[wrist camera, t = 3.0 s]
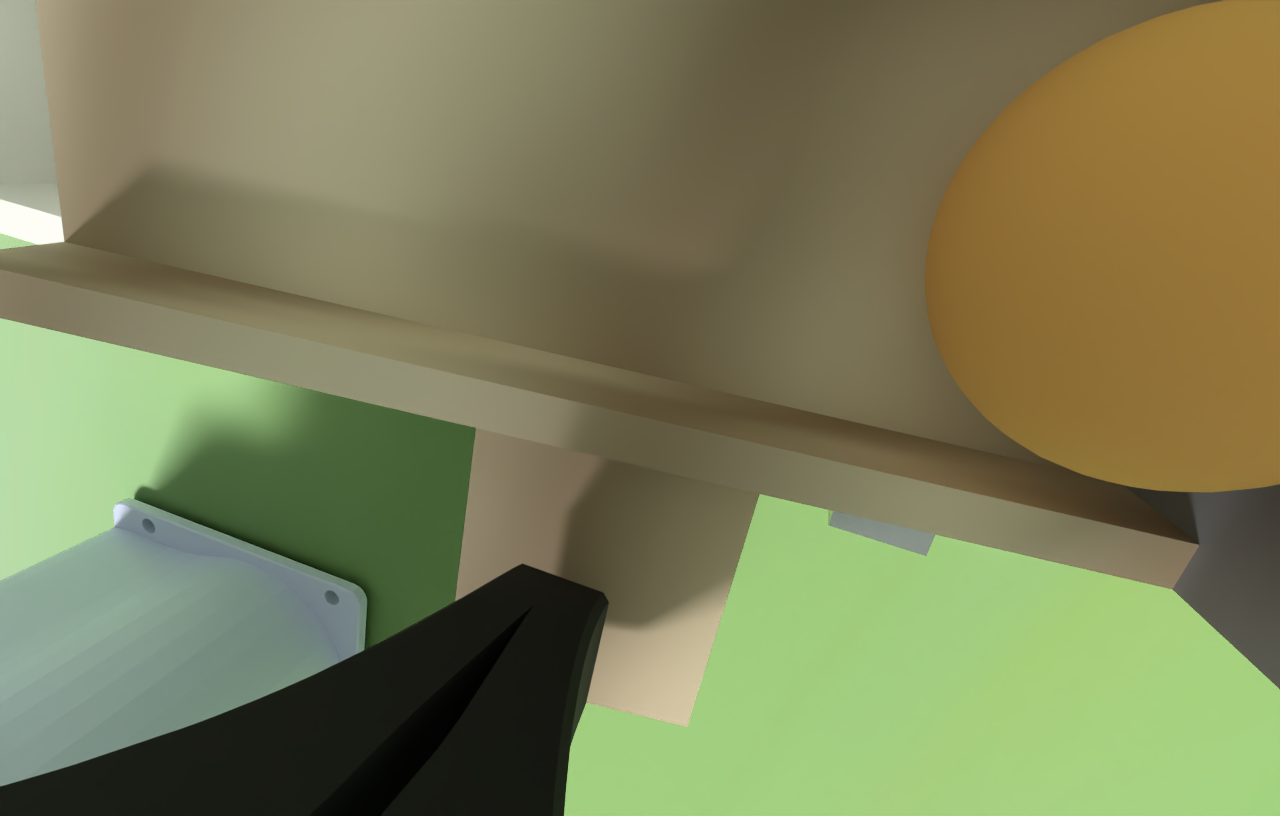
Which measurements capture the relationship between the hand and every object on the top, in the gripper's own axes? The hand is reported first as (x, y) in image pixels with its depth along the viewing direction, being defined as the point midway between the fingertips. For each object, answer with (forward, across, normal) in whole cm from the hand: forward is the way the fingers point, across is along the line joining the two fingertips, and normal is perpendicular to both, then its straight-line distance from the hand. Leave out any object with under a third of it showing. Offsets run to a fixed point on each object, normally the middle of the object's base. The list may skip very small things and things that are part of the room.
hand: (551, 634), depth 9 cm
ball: (0, -5, -6) cm, 8 cm away
